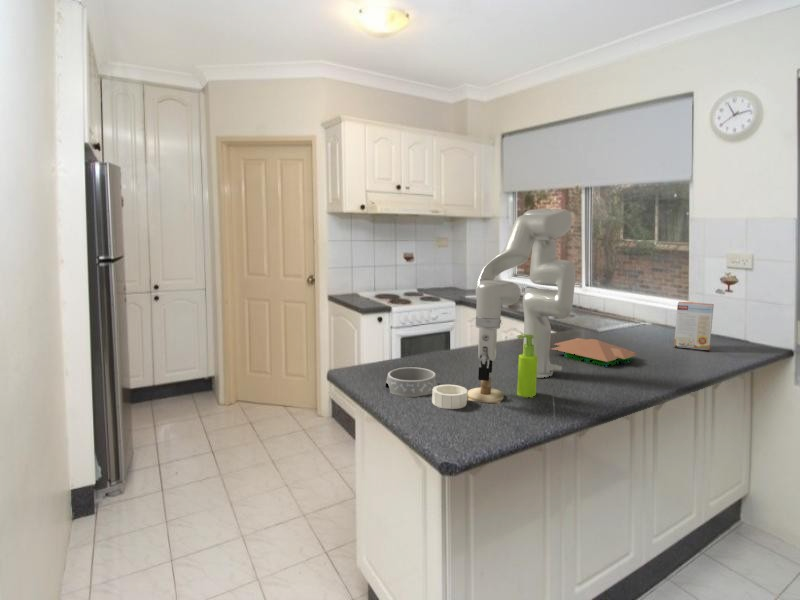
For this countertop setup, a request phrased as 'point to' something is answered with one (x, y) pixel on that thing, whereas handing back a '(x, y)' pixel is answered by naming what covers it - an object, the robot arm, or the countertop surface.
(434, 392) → the bowl
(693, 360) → the countertop surface
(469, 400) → the mat
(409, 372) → the dog bowl
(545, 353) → the robot arm
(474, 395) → the lid
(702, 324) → the cracker box
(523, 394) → the soap dispenser
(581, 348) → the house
